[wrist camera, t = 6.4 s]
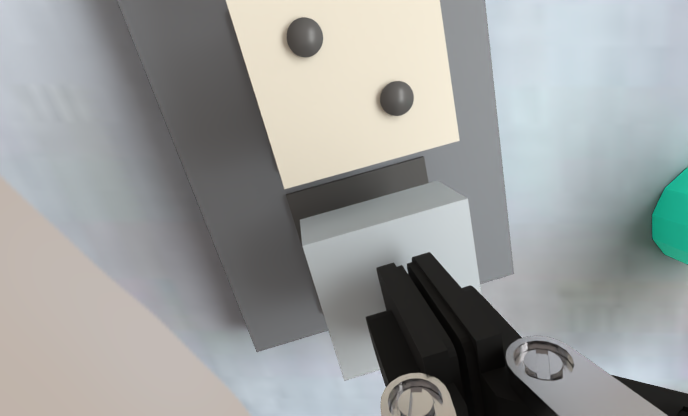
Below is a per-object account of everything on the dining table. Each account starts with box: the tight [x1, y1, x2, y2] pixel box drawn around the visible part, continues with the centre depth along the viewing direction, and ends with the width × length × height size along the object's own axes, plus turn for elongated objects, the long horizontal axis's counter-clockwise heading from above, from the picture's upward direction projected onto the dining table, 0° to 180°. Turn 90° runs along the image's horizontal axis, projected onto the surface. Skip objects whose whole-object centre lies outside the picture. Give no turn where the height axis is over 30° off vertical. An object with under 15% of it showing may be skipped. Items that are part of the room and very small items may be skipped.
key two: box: [226, 0, 460, 189], centre depth 11 cm, size 5×5×3 cm
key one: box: [300, 181, 481, 381], centre depth 13 cm, size 5×5×3 cm
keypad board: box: [117, 0, 514, 352], centre depth 15 cm, size 22×13×2 cm, turn 14°
